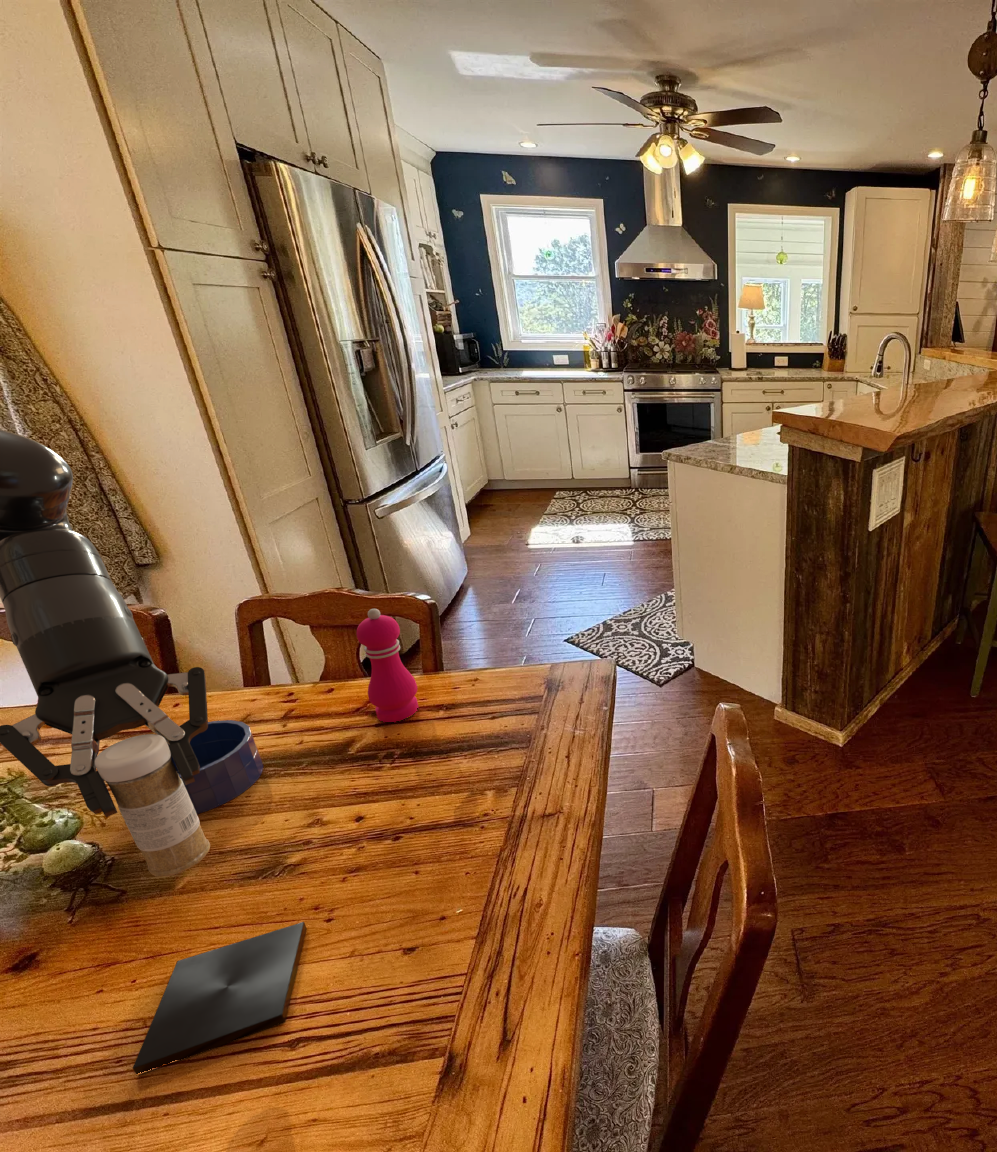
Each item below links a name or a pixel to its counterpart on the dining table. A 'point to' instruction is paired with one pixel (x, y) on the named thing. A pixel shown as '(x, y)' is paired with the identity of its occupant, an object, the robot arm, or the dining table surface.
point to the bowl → (223, 764)
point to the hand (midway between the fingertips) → (150, 796)
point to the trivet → (223, 996)
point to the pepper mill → (387, 669)
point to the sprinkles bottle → (154, 803)
